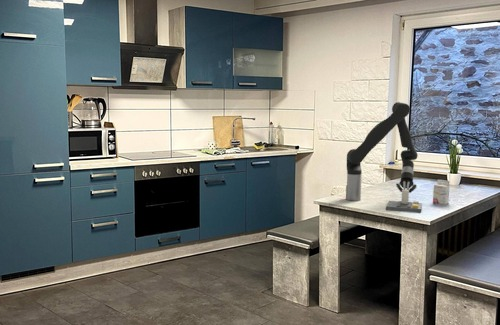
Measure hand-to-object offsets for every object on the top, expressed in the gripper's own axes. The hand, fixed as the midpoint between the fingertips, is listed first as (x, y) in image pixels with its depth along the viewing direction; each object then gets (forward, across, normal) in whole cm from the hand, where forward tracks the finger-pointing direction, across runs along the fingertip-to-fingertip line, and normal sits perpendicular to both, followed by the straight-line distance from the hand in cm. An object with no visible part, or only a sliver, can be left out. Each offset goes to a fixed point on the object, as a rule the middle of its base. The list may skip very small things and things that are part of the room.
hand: (405, 197), depth 314 cm
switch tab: (+4, 0, 0) cm, 4 cm away
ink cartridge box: (-8, +21, +16) cm, 27 cm away
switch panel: (+9, 0, -2) cm, 9 cm away
